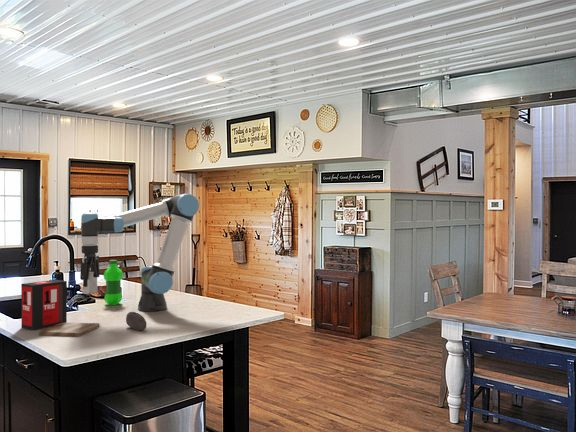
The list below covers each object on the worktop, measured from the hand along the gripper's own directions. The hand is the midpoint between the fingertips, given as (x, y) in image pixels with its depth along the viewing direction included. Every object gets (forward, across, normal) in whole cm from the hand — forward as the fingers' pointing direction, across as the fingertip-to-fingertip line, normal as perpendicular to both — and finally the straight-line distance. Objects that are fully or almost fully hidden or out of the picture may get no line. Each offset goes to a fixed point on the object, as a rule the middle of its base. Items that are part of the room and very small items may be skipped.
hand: (90, 291), depth 245 cm
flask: (+1, 0, 0) cm, 1 cm away
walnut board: (+13, +23, +3) cm, 27 cm away
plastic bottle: (+14, -40, -7) cm, 43 cm away
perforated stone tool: (+14, +16, +31) cm, 37 cm away
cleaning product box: (+13, +15, -14) cm, 25 cm away
